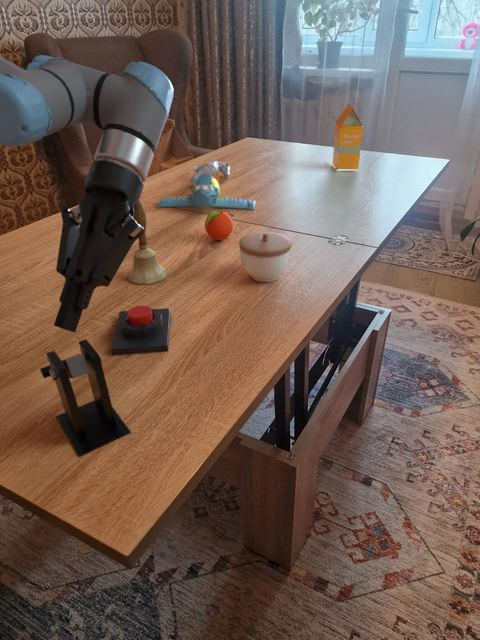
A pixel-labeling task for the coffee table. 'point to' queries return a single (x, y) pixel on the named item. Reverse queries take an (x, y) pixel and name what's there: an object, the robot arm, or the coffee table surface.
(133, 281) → the hand bell
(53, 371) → the lever bracket
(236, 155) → the coffee table surface
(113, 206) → the robot arm
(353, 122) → the orange juice
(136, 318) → the button
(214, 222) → the clementine
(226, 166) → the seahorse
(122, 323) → the control block
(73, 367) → the press lever
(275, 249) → the trinket box
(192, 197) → the blue toy plane
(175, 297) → the coffee table surface
